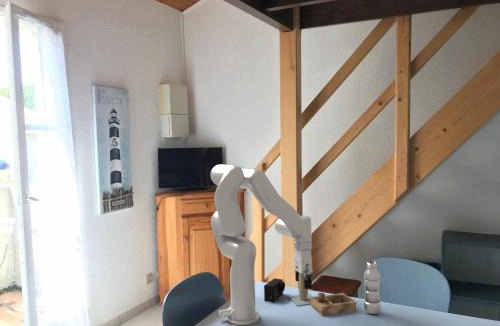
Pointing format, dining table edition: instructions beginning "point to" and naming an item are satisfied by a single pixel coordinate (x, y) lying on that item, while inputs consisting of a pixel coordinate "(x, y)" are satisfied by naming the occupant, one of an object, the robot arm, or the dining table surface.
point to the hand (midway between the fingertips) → (303, 284)
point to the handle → (302, 286)
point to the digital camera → (273, 290)
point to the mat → (300, 302)
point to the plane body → (333, 304)
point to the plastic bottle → (372, 289)
